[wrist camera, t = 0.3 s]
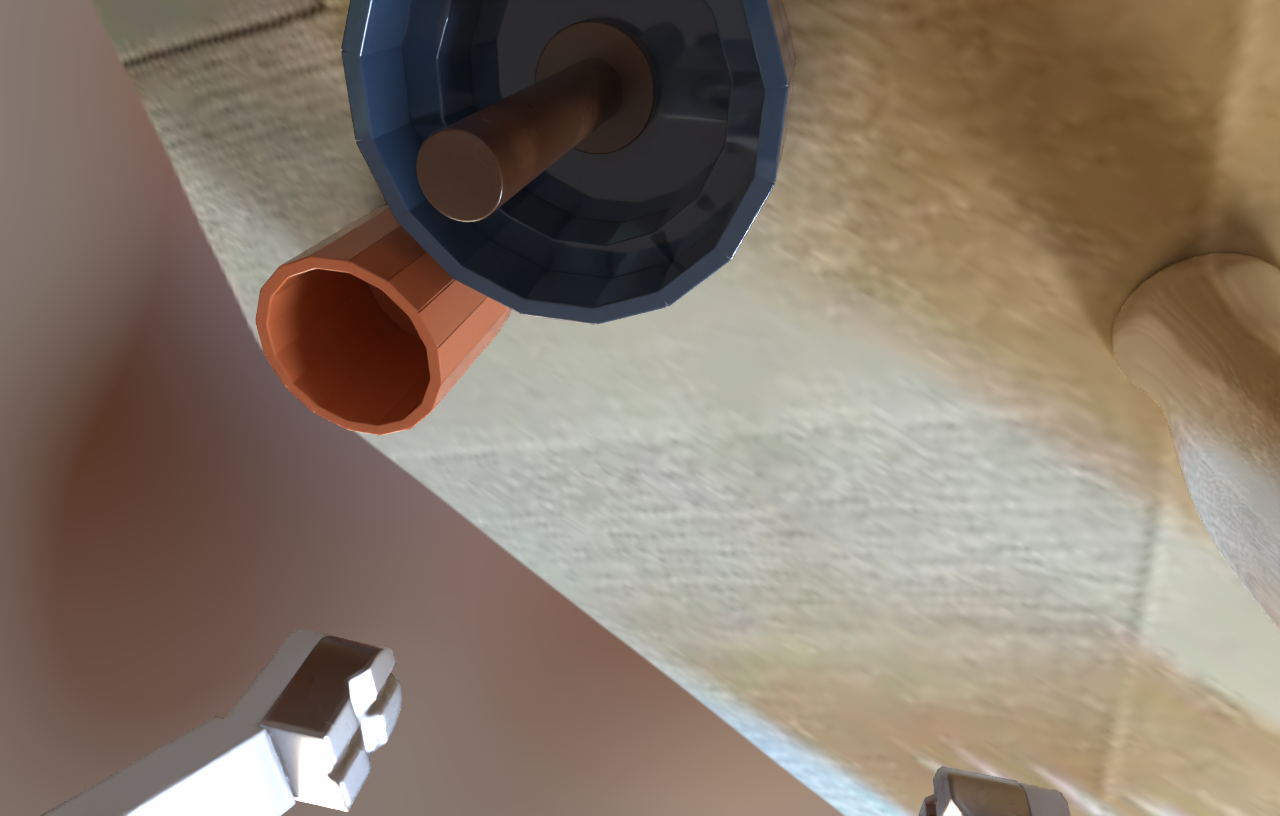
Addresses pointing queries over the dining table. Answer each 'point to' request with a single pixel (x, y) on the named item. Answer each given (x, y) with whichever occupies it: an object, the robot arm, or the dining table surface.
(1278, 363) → the beer glass
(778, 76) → the bowl
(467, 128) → the plunger
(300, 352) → the crock
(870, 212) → the dining table surface
